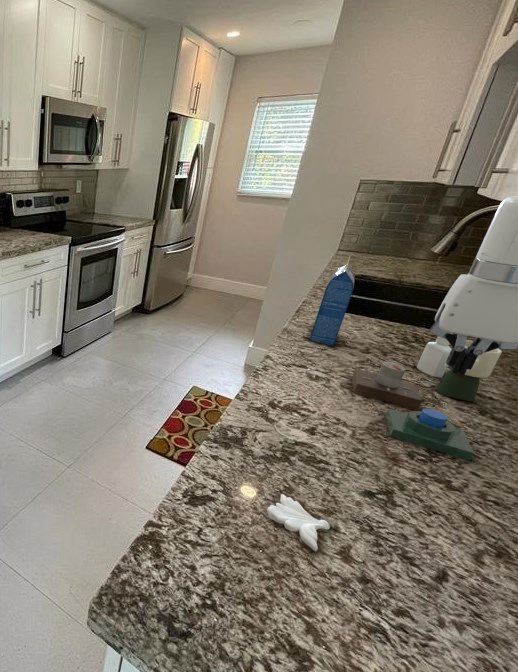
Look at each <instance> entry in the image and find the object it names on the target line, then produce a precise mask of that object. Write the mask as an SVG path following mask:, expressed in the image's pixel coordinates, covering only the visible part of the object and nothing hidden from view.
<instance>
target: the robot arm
mask: <svg viewBox="0 0 518 672" xmlns="http://www.w3.org/2000/svg"><path fill="white" fill-rule="evenodd" d="M434 316H435V317H434V322H435V323H433V325H432V326H430V329H429V332H430V334H432V335H435V336H436V337H438V336H439V337H442V338H445V339H447V340H448V342H449V343H450V344H449V345H451V347H452V348H451V349H452V350H451V352H450V354H449V356H448V358H447V360H446V364H447V365H448V367H449V368H448V367H447V368H448V369H449V371H450V370H451V372H455V373H456V372H458V373H460V374H463V375H464V374H465V373H466V371H467V369H468V370H471V369H472V367H473V365H474V363H475V361H476V359H477V357H478V355H482V354H483V353H485V352H488V351H491V350H494V349H500V350H517V349H518V195H517V194H516V195H510V196H508V197H506V198H505V199H503V200H502V201H501V202H500V204H499V206H498V208H497V210H496V212H495V213H494V217H493V219H492V220H491V223H490V225H489V227H488V229H487V231H486V233H485V236H484V237H483V241H482V242H481V245H480V247H479V249H478V252H477V254H476V256H475V258H474V260H473V262H472V265H471V266H470V269H469V272H468V273H467V274H465V273H464V274H460V275H459V276H458V278H457V279H456V280H455V281H454V283H453V284H452V285H451V287H450V288H449V290H448V292H447V293H446V295H445V297H444V299H443V301H442V302H441V304H440V306H439V308H438V310H437V312H436V314H435V315H434ZM468 337H471V338H474V340H472V341H473V342H472V344H471V345H470V346H469V347H468V348H465V344H466V340H468Z"/></svg>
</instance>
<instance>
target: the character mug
mask: <svg viewBox="0 0 518 672" xmlns="http://www.w3.org/2000/svg"><path fill="white" fill-rule="evenodd" d="M473 341H474V340H471V339H467V340H466V344H465V348H468V347H469V346H470V345H471V344H472V342H473ZM502 352H503V351H502V349H494V350H491V351H488V352H485V353H483V354H482V355H478V357H477V359H476V361H475V363H474V365H473V367H472V369H471V370H468V369H467V371H466V373H465V374H464V375H463V374H460V373H458V372H456V373H455V372H451V370H450V369H449V367H448V365H447V364H446V363H445V365H446V366H447V369H449V370H448V371H447V372H445V374H444V375H443V376H442V378H441V380H440V382H439V383H438V384H437V386H436V391H437V393H439V394H441V395H443V396H445V397H447V398H448V397H449V398H453V399H458V400H461V401H467V402H473V401H475V399H476V396H477V394H478V390H479V386H480V383H481V381H480V378H481V379H486V378H489V377H490V376H491V374H492V372H493V370H494V368H495V366H496V364H497V362H498V360H499V358H500V357H501V355H502Z"/></svg>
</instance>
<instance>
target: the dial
mask: <svg viewBox="0 0 518 672" xmlns="http://www.w3.org/2000/svg"><path fill="white" fill-rule="evenodd" d="M406 370H407V369H406V367H405V366H403V365H401V364H399V363H395V362H390V361H383V362H382V363H381V365H380V367H379V370H378V373H377V374H378V375H377V378H376V382H377V383H379V384H381V385H383V386H386V387H391V388H397V387H398V386H399V384H400V381H401V380H402V379H403V377H404V375H405V373H406Z"/></svg>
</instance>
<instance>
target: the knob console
mask: <svg viewBox="0 0 518 672" xmlns="http://www.w3.org/2000/svg"><path fill="white" fill-rule="evenodd" d="M377 375H378V373H375V372H369V371H365V370H362V369H358V368H355V369H354V372H353V373H352V375H351V382H352V384H351V385H352V391H353V394H355V395H359V396H363V397H366V398H370V399H374V400H377V401H381V402H385V403H388V404H392V405H395V406H399V407H403V408H406V409H410V410H413V411H419V408H420V406H421V404H422V402H423V399H422V396H421V394H420V392H419V390H418V387H417V384H416V383H414V382H409V381H405V380H402V379H401V381H400V384H399V386H398V387H397V388H391V387H386V386H383V385H381V384H379V383H377V382H376V378H377Z"/></svg>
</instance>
